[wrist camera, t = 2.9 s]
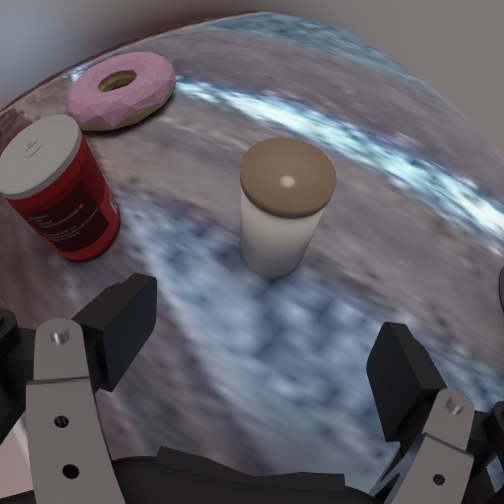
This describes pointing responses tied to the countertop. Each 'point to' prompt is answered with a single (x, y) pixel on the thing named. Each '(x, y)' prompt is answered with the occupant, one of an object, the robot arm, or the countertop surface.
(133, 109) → the donut
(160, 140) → the countertop surface
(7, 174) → the canned food
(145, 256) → the countertop surface
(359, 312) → the countertop surface
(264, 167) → the brown-lidded white canister
